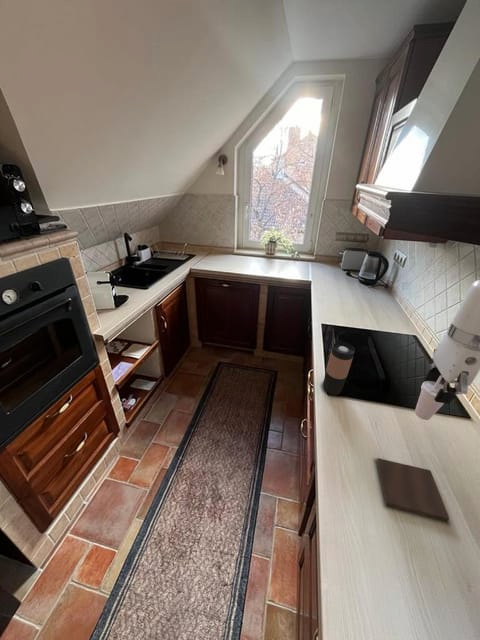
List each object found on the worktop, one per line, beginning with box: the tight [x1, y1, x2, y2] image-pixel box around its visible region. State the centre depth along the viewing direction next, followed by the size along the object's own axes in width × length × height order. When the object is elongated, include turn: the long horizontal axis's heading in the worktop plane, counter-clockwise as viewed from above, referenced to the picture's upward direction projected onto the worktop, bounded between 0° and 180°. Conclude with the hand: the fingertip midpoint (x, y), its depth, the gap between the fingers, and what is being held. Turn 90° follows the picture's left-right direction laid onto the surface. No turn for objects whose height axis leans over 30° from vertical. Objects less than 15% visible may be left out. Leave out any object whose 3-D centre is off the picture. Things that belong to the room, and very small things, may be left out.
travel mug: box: [322, 341, 355, 396], centre depth 95 cm, size 8×8×20 cm
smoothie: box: [414, 375, 445, 421], centre depth 67 cm, size 6×6×14 cm
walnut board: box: [375, 457, 450, 522], centre depth 69 cm, size 14×12×2 cm
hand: (436, 391), depth 66 cm, fingers closed on smoothie, 6 cm apart
